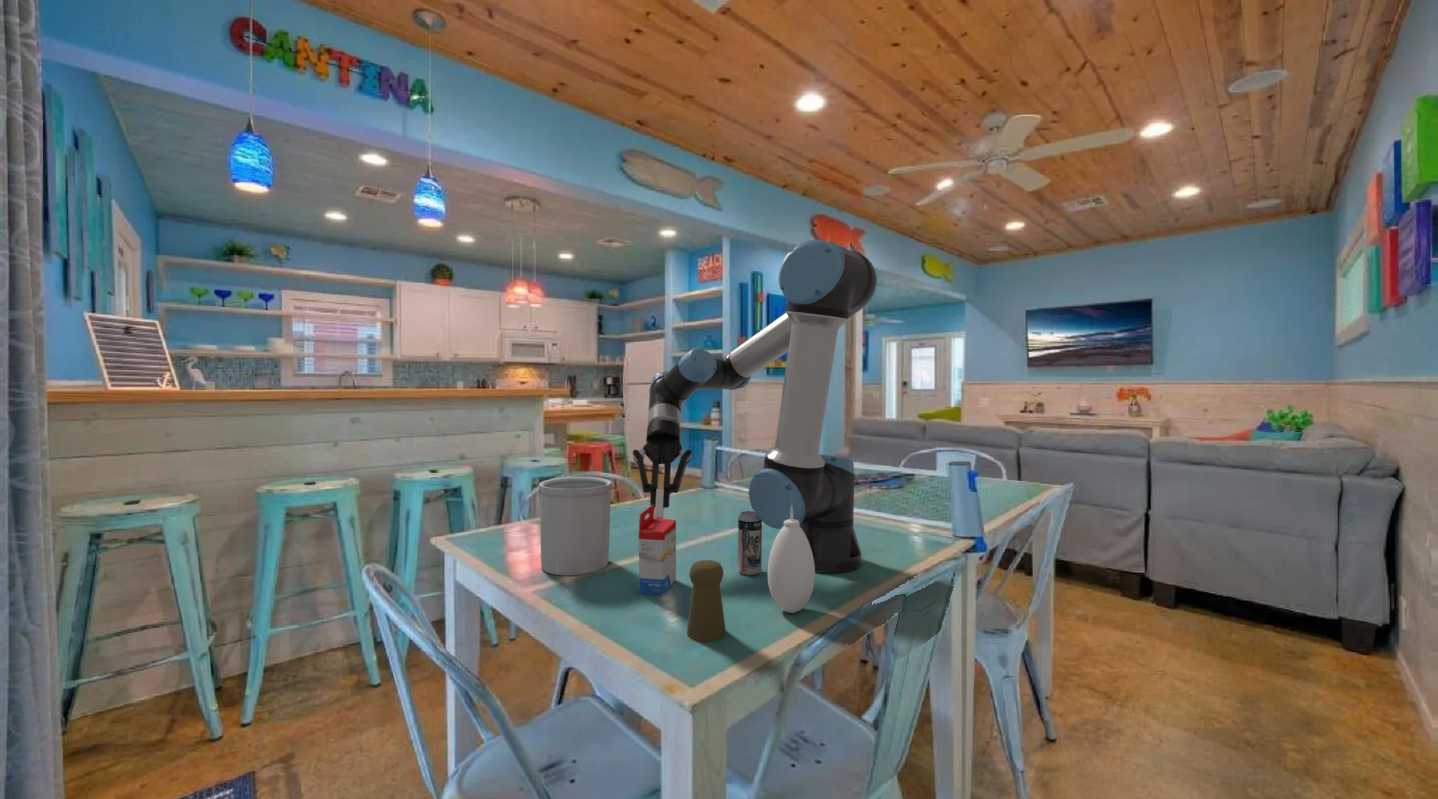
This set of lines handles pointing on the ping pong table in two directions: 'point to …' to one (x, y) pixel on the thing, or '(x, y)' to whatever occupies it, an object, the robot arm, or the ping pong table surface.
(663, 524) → the ink box
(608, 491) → the utensil holder
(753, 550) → the beer can
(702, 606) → the cork
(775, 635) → the ping pong table surface
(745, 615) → the ping pong table surface
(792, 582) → the air blower bulb
